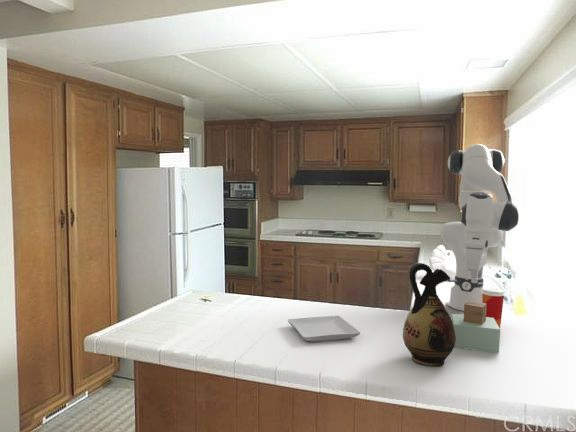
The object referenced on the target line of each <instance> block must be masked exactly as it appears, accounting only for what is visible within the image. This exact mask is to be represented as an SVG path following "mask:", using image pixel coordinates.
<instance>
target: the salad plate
mask: <svg viewBox="0 0 576 432" xmlns="http://www.w3.org/2000/svg"><path fill="white" fill-rule="evenodd" d="M287 322H288V323H289V325H290V326H291V327H292V328H293V329H295V331H296V332H297V333H298V334H299V335H300V336H301V337H302V340H304V341H307V342H326V341H339V340H347V339H353V338H356V337H358V336H359V335H361V331H360V330H359V329H357V328H356V327H354V325H352V324H350V323H349V322H348V321H347V320H345V319H344V318H343V317H341V316H340V315H327V316H326V315H325V316H314V317H313V316H310V317H301V318H300V317H299V318H288V319H287Z"/></svg>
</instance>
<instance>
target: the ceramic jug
mask: <svg viewBox="0 0 576 432" xmlns="http://www.w3.org/2000/svg"><path fill="white" fill-rule="evenodd" d="M418 271H424V272H426V274H425V275H424V276H423V277H422V278H421V280H420V281H419V285H422V286H424V289H423V292H422V293H421V292H420V289H419V287H418V282H417V279H416V273H418ZM449 280H450V277H449V276H448V275H447V274H446V273H445V272H444V271H443V270H441V269H436V270H435V271H433V270H432V269H431V268H430V265H428V264H426V263H422V262H418V263H415V264H413V265H412V266H411V267H410V270H409V281H410V285H411V289H412V293H413V295H414V301H413V302H414V303H413V306H412V307H411V309H410V310H409V312H408V314H407V316H406V318H405V321H404V325H403V328H402V340H403V343H404V346H405V348H406V349H407V350H408V352H409V353H410V354H411V360H412V361H414V362H416V363H418V364H422V365H424V366H428V367H442V366H444V364H445V361H446V359H447V358H448V356H450V355H451V353H452V352H453V350H454V348H455V347H454V346H455V341H456V335H455V330H454V325H453V322H452V316H451V315H450V313H449V312H448V310H447V308H446V306H445V305H444V304H443V301H442V300H441V299H440V296H439V295H438V294H437V289H436V288H437V286H438V285H440V284H442V283H444V282H448V281H449Z"/></svg>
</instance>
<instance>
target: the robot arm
mask: <svg viewBox="0 0 576 432" xmlns="http://www.w3.org/2000/svg"><path fill="white" fill-rule="evenodd" d="M504 165H505V158H504V155H503V152H502V151H501V150H498V149H495V148H494V149H489V148H488V147H487V146H486V145H484V144H480V143H475V144H471V145H469V147H468V148H466V149H464V150H463V149H462V150H460V149H458V150H457V149H456V150H454V151H452V152H450V155H449V156H448V159H447V167H448V170H449V172H450V173H451V174H453V175H455V176H456V175H458V176H459V175H461V177H460V178H461V179H460V183H459V198H458V199H459V200H458V201H459V202H458V206H459V209H460V210H461V220H460V221H450V222H446V223H444V224H443V225H442V227H441V229H440V237H441V240H442V241H443V243H445V244H446V245H447V246H448V247H449V248H450V250H451V249H452V251H453V253H454V255H455V258H456V276H455V281H454V285H453V286H452V287H451V288H450V294H449V301H447V302H445V305H446V306H448V307H450V308H452V309H455V310H459V311H462V312H464V304H465V303H466V302H467V301H473V302H480V303H482V293H481V292H482V291H483V289H484V287H483V286H484V278H483V273H484V272H483V271H484V267H485V265H486V264H487V262H488V251H489V248H494V247H495V248H496V247H498V246H499V245H500V244H501V243H502V241H503V239H504V232H509V231H511V230H514V229H515V227H516V226H518V223H519V219H520V216H519V215H520V214H519V210H518V208H517V206H516V204H515V203H514V200H513V197H512V195H511V192H510V189H509V187H508V184H507V181H506V179H505V177H504V175H503V174H502V173H500V172H501V171H502V169H503V167H504ZM487 192H490V193H492V194H494V195H495V196H496V199H497V201H496V202H494V197H493V195H492V194H490V193H487Z"/></svg>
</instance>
